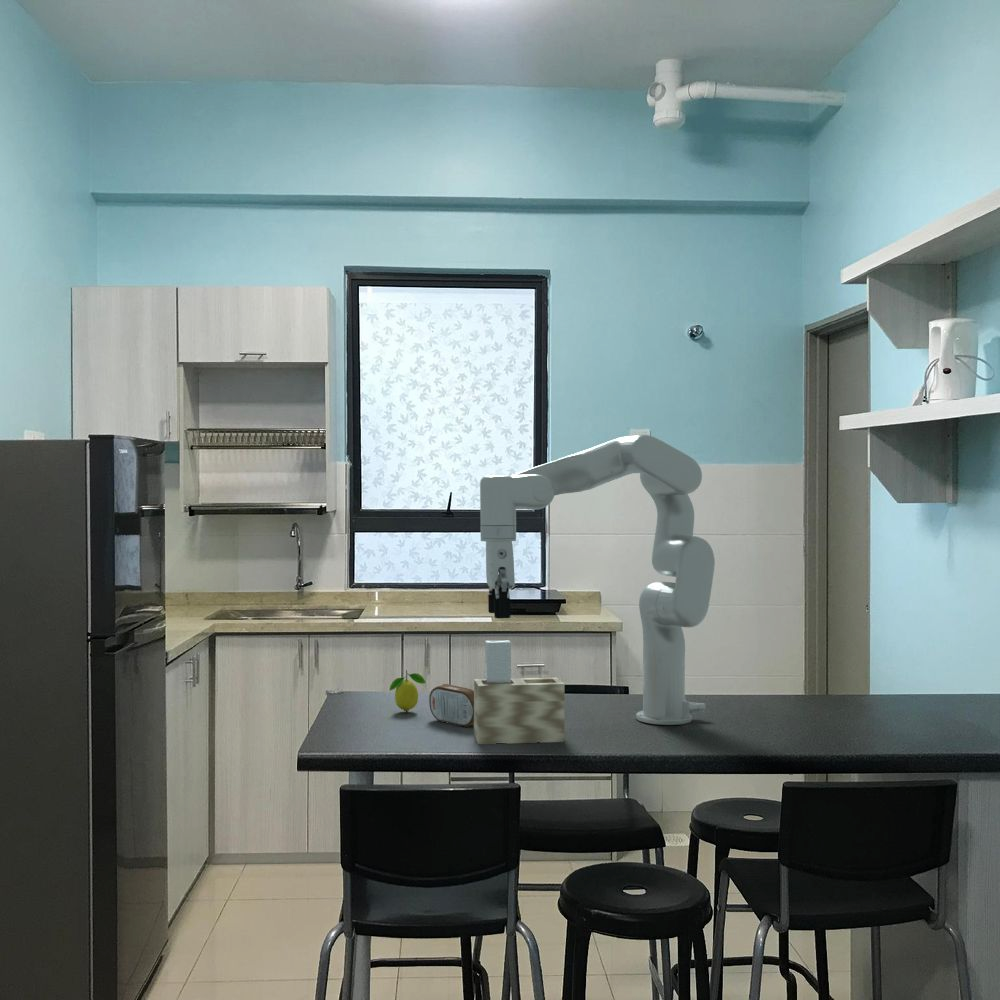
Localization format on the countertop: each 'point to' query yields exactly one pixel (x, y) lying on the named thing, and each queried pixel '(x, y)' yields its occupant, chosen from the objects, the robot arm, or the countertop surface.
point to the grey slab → (498, 662)
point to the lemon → (406, 691)
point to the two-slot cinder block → (519, 711)
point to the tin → (453, 704)
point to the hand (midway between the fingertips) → (499, 615)
